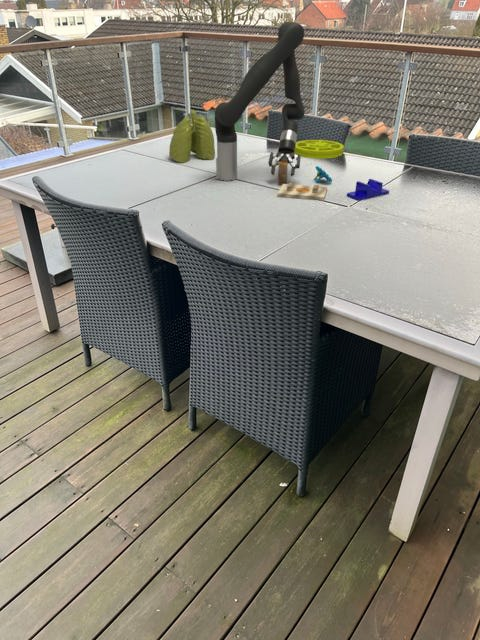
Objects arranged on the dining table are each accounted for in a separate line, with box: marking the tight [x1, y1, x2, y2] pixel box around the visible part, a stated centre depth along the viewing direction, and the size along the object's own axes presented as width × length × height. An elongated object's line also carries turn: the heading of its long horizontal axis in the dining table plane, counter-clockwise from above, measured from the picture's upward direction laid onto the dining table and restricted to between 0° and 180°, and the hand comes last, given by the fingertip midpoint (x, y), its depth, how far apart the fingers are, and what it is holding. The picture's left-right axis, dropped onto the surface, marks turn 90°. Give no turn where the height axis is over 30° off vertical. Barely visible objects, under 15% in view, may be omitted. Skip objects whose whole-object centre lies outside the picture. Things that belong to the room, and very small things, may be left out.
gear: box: [313, 165, 333, 184], centre depth 227 cm, size 11×6×10 cm
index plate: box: [276, 182, 328, 201], centre depth 213 cm, size 20×14×4 cm
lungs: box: [168, 109, 216, 164], centre depth 259 cm, size 25×16×24 cm, turn 114°
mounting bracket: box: [346, 178, 390, 202], centre depth 211 cm, size 18×7×6 cm, turn 122°
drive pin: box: [277, 161, 289, 187], centre depth 223 cm, size 4×4×10 cm
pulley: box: [294, 139, 345, 160], centre depth 276 cm, size 28×28×5 cm
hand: (282, 174), depth 222 cm, fingers open, 8 cm apart
